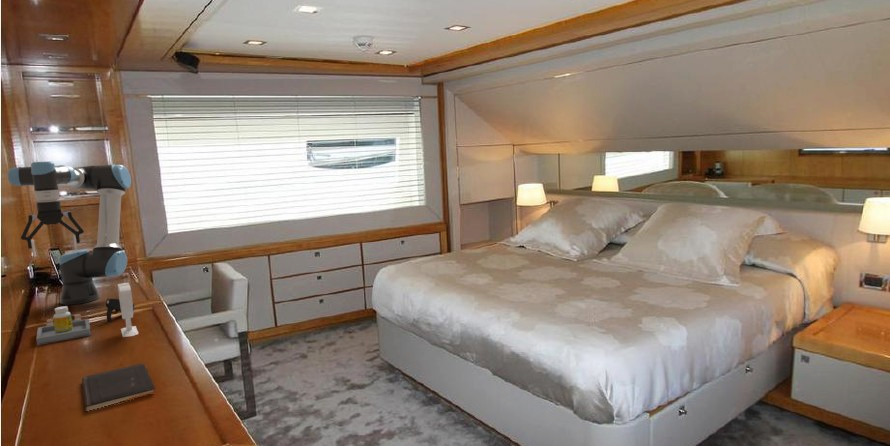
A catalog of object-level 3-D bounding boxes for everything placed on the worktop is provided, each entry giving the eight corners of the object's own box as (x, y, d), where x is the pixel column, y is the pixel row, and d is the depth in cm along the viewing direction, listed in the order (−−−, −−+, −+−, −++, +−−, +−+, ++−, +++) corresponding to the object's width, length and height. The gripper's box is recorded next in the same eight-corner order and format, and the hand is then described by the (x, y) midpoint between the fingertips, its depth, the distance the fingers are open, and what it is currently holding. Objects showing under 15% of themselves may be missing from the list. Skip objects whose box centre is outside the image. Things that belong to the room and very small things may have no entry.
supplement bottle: (56, 331, 201) (53, 307, 200) (73, 329, 204) (70, 304, 203) (54, 335, 197) (51, 310, 195) (72, 333, 199) (68, 308, 198)
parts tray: (39, 333, 202) (38, 327, 202) (89, 324, 211) (88, 318, 211) (37, 345, 189) (36, 338, 189) (91, 335, 198) (90, 328, 198)
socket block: (47, 325, 213) (47, 319, 213) (81, 319, 219) (80, 313, 219) (47, 332, 204) (46, 325, 204) (81, 325, 210) (80, 319, 210)
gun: (133, 326, 226) (138, 302, 230) (106, 319, 211) (112, 294, 215) (127, 326, 227) (131, 302, 230) (100, 319, 211) (105, 294, 215)
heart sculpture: (139, 335, 196) (133, 287, 194) (123, 338, 193) (117, 290, 191) (135, 324, 209) (129, 280, 207) (120, 327, 206) (114, 282, 204)
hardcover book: (144, 370, 165) (144, 362, 164) (155, 396, 146) (154, 388, 146) (82, 384, 155) (81, 377, 155) (85, 414, 137) (84, 406, 136)
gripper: (6, 204, 200) (15, 260, 203) (86, 198, 214) (93, 250, 217) (8, 203, 206) (16, 257, 209) (85, 197, 220) (92, 247, 223)
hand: (56, 253), depth 213 cm, fingers open, 13 cm apart
